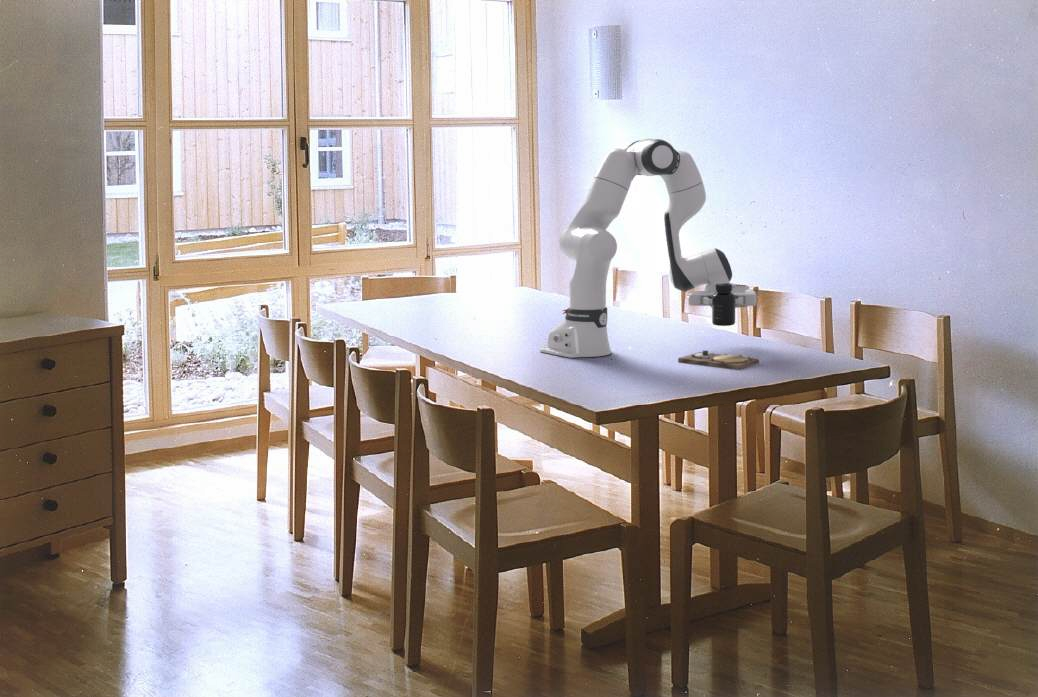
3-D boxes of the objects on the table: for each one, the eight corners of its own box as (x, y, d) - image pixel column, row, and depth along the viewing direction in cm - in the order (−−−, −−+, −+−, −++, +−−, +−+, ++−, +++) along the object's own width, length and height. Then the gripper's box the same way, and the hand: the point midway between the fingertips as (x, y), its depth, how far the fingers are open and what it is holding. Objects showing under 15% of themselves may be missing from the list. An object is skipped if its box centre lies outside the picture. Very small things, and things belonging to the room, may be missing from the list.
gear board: (678, 362, 356) (678, 352, 355) (699, 355, 365) (700, 346, 364) (738, 369, 343) (738, 359, 343) (759, 363, 352) (759, 352, 352)
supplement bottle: (721, 321, 365) (722, 282, 363) (739, 324, 360) (740, 284, 358) (707, 324, 361) (707, 284, 359) (725, 327, 356) (725, 286, 354)
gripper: (686, 285, 372) (688, 291, 359) (754, 285, 370) (758, 291, 357) (686, 305, 373) (688, 312, 360) (753, 306, 371) (758, 312, 358)
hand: (723, 302), depth 358 cm, fingers closed on supplement bottle, 7 cm apart
